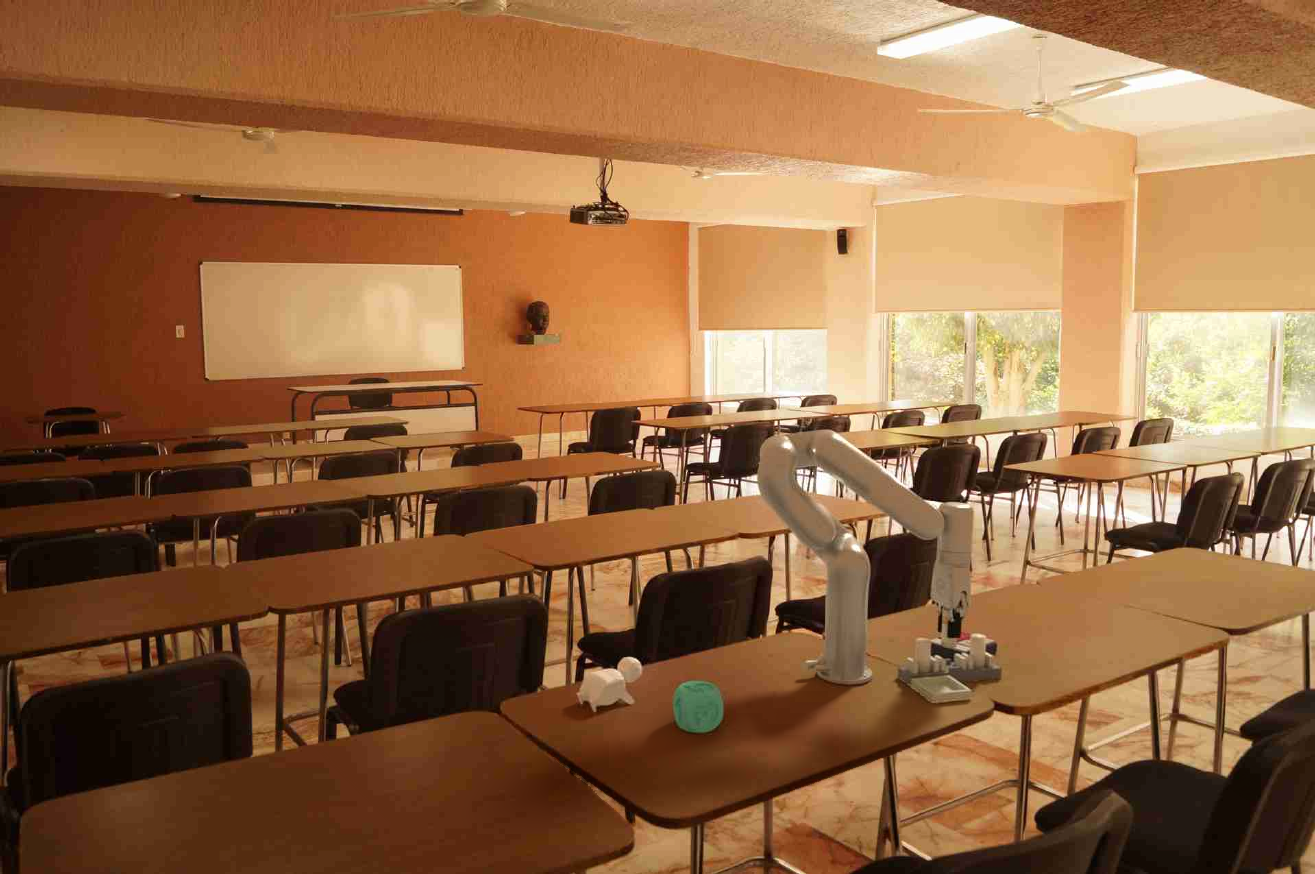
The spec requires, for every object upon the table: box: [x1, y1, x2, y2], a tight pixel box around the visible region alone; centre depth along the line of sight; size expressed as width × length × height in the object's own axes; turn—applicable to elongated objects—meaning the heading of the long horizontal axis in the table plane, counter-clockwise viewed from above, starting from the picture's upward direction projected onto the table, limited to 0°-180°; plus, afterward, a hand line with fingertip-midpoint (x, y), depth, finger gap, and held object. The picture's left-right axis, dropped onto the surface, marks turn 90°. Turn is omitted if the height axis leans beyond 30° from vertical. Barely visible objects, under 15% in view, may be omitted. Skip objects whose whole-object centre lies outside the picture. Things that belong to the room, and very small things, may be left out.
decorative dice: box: [672, 680, 724, 734], centre depth 199 cm, size 8×8×8 cm
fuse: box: [940, 606, 959, 648], centre depth 224 cm, size 3×3×10 cm
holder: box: [897, 633, 1003, 685], centre depth 225 cm, size 23×6×10 cm, turn 104°
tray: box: [910, 675, 973, 702], centre depth 216 cm, size 9×9×2 cm
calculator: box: [930, 631, 998, 662], centre depth 242 cm, size 11×4×15 cm
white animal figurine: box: [576, 656, 643, 713], centre depth 212 cm, size 8×8×15 cm
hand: (949, 634), depth 224 cm, fingers closed on fuse, 3 cm apart
